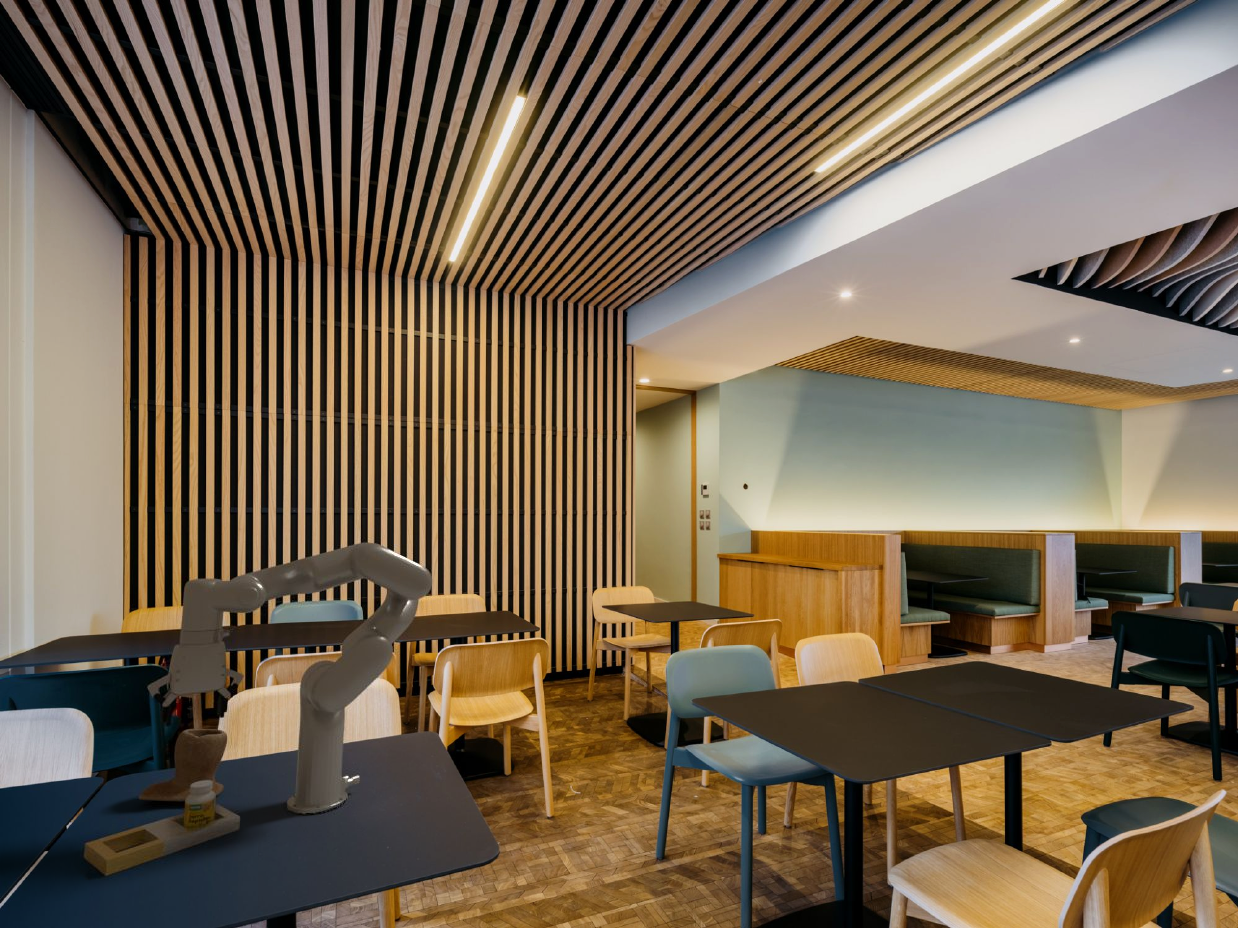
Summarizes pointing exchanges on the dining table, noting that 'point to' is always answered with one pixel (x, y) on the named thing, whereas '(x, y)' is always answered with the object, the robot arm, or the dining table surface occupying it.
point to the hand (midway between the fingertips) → (194, 720)
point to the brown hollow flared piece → (191, 765)
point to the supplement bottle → (200, 804)
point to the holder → (155, 841)
